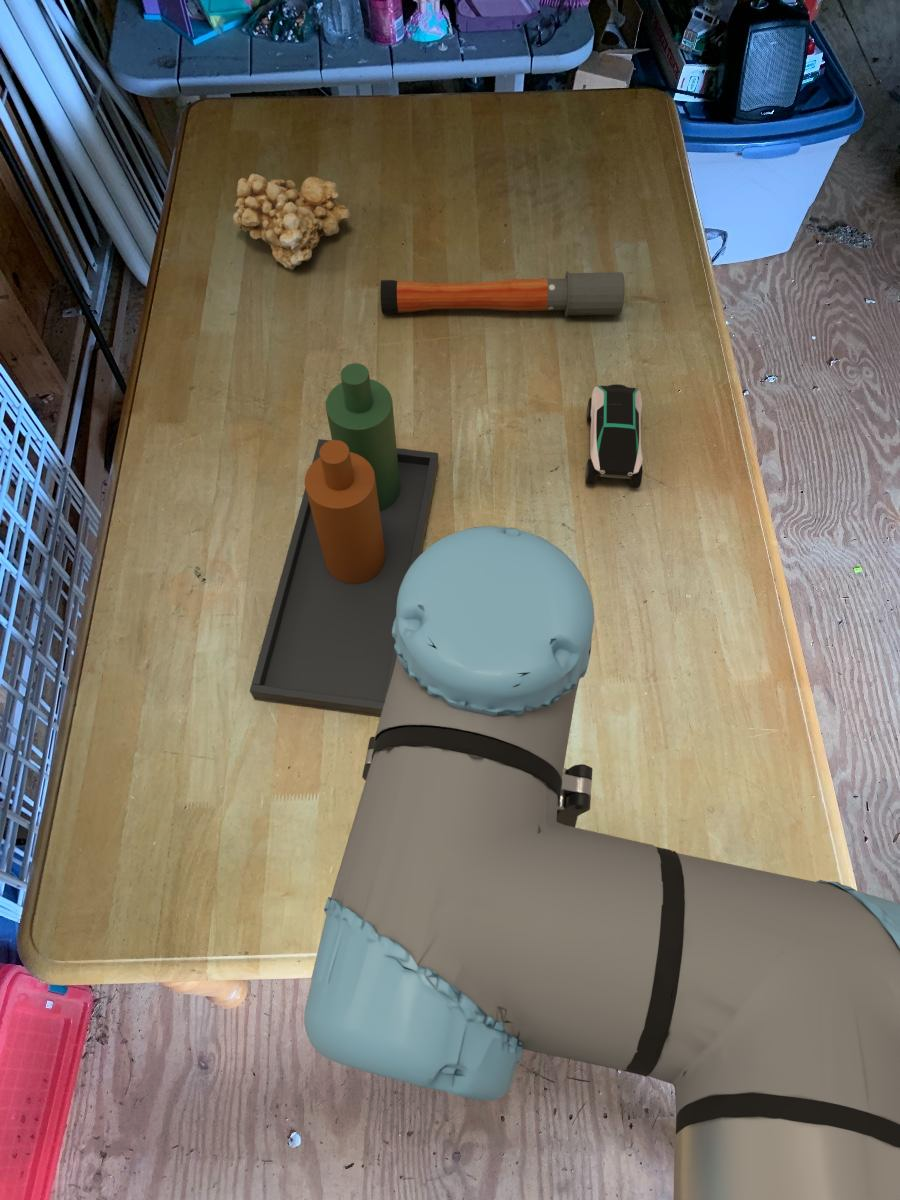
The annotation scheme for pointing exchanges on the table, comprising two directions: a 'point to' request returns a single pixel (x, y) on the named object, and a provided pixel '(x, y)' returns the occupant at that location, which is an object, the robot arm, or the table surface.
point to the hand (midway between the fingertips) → (470, 836)
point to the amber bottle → (346, 513)
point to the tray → (343, 608)
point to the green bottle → (366, 426)
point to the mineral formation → (288, 215)
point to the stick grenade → (511, 295)
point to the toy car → (615, 434)
